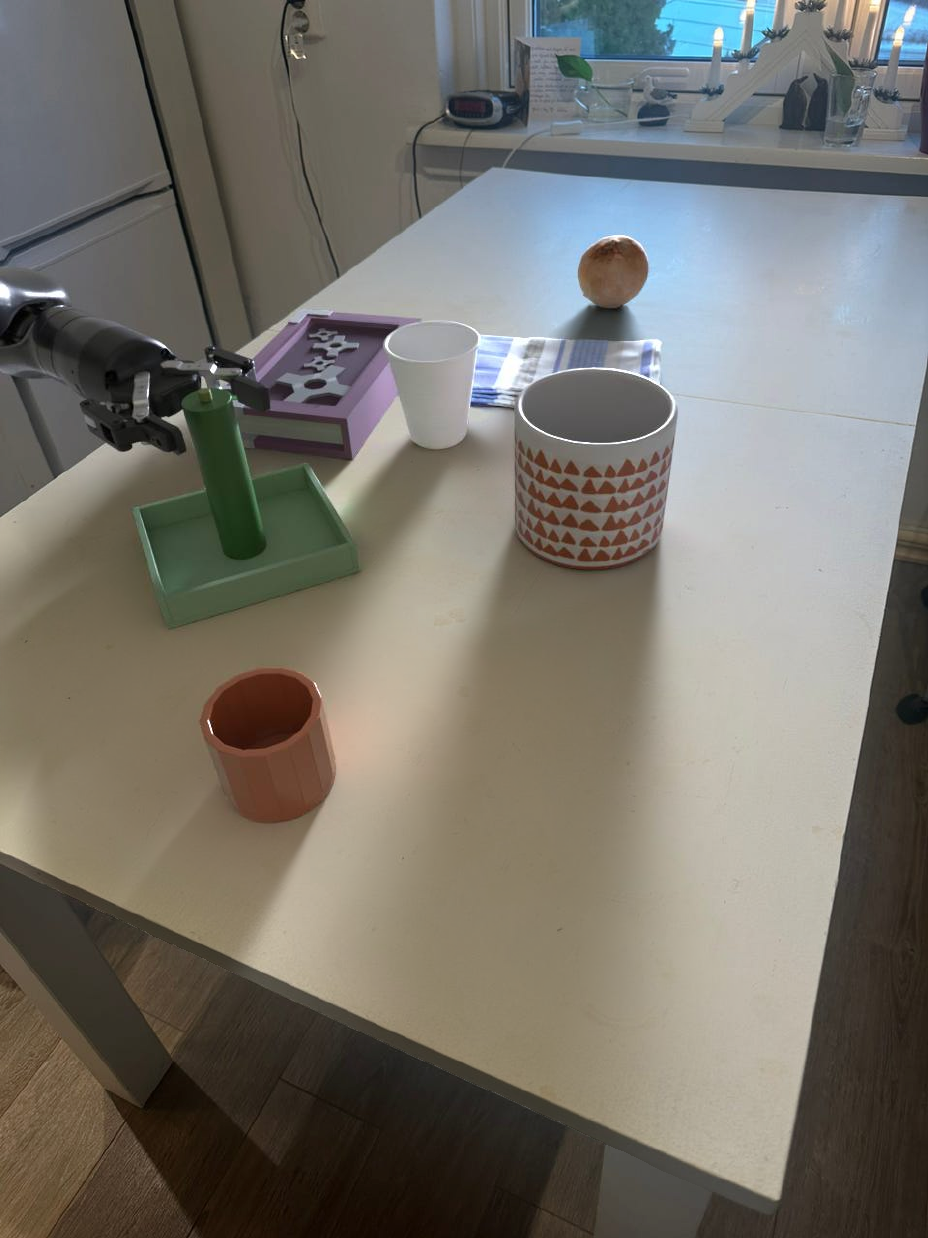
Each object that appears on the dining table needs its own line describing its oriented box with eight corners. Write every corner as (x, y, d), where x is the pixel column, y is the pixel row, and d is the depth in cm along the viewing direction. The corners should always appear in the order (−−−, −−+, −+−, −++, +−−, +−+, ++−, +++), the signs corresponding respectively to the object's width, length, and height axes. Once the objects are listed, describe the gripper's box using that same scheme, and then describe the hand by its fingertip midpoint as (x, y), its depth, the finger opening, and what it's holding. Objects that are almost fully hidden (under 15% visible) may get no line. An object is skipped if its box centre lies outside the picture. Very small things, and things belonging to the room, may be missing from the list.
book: (307, 345, 114) (301, 308, 111) (425, 355, 111) (422, 317, 107) (216, 444, 96) (205, 403, 93) (352, 460, 93) (346, 418, 89)
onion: (603, 335, 120) (593, 281, 111) (571, 294, 124) (559, 239, 115) (664, 300, 119) (659, 243, 111) (630, 260, 124) (622, 202, 115)
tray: (168, 629, 74) (158, 602, 72) (141, 534, 84) (131, 507, 82) (360, 571, 78) (356, 544, 76) (312, 488, 89) (307, 462, 87)
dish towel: (658, 423, 95) (661, 400, 94) (449, 409, 100) (447, 386, 98) (665, 354, 108) (668, 332, 106) (479, 344, 112) (478, 323, 110)
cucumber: (228, 564, 79) (183, 406, 68) (219, 541, 82) (174, 385, 71) (271, 552, 80) (233, 395, 70) (260, 529, 83) (222, 374, 72)
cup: (467, 466, 91) (462, 367, 83) (379, 453, 93) (367, 356, 86) (495, 419, 98) (493, 324, 90) (412, 409, 100) (404, 316, 93)
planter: (554, 589, 75) (558, 461, 67) (492, 506, 85) (488, 386, 77) (690, 548, 79) (711, 422, 70) (616, 473, 88) (626, 355, 80)
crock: (238, 840, 58) (214, 773, 53) (214, 756, 63) (190, 689, 58) (350, 797, 60) (336, 730, 55) (317, 720, 65) (302, 653, 61)
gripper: (26, 357, 73) (135, 414, 64) (170, 301, 80) (284, 345, 72) (58, 436, 78) (163, 499, 69) (190, 377, 85) (299, 426, 77)
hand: (224, 421), depth 71 cm, fingers open, 8 cm apart
